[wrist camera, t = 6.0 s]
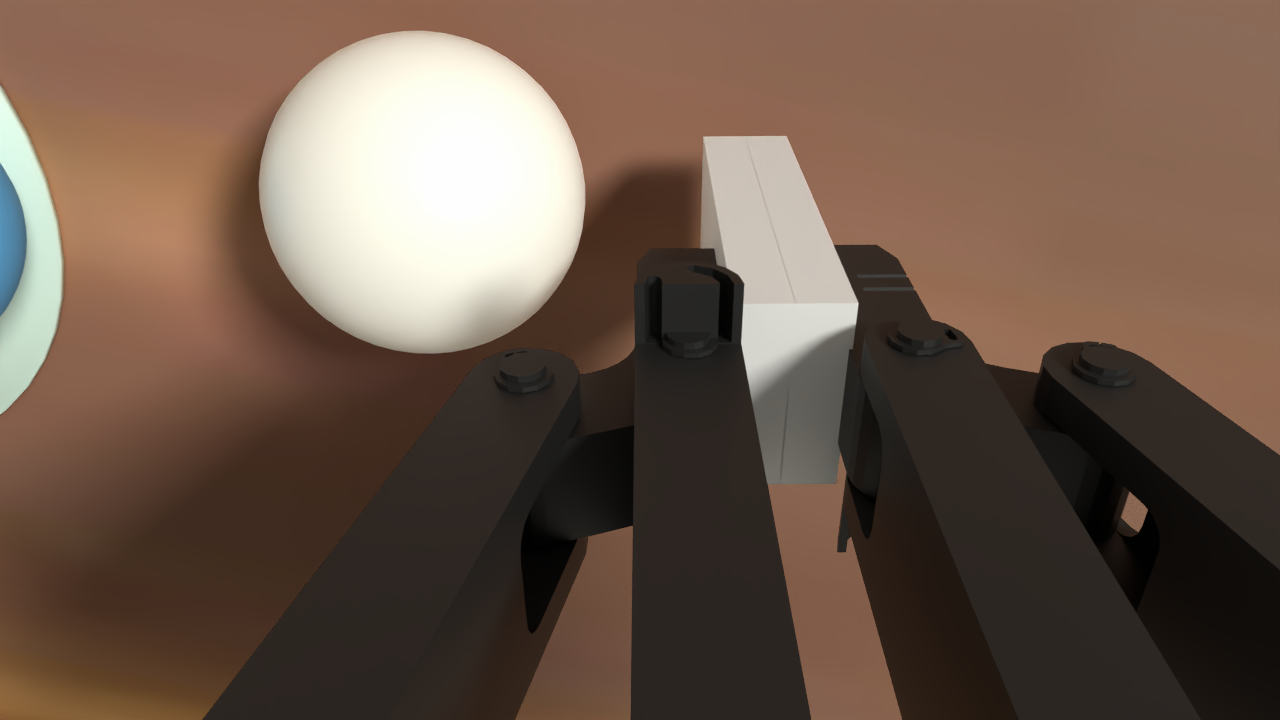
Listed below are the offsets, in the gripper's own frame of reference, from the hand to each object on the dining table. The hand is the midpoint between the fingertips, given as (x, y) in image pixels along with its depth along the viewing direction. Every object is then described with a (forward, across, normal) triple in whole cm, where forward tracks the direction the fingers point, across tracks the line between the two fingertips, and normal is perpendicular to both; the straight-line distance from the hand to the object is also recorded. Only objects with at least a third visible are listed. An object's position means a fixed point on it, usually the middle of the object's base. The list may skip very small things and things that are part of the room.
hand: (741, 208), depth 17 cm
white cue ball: (-1, +6, -1) cm, 6 cm away
